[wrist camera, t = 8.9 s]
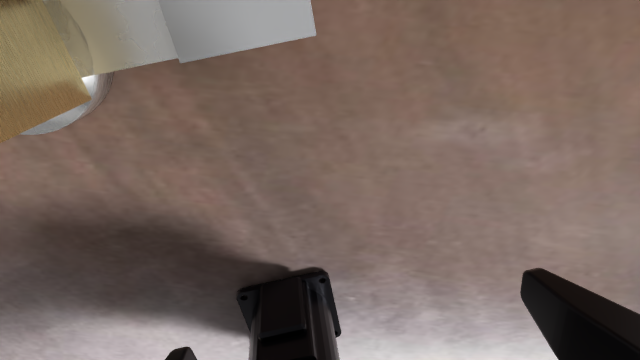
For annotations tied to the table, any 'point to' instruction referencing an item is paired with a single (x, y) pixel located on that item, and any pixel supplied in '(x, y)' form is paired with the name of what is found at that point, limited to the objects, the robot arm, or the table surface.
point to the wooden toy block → (34, 69)
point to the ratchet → (163, 36)
